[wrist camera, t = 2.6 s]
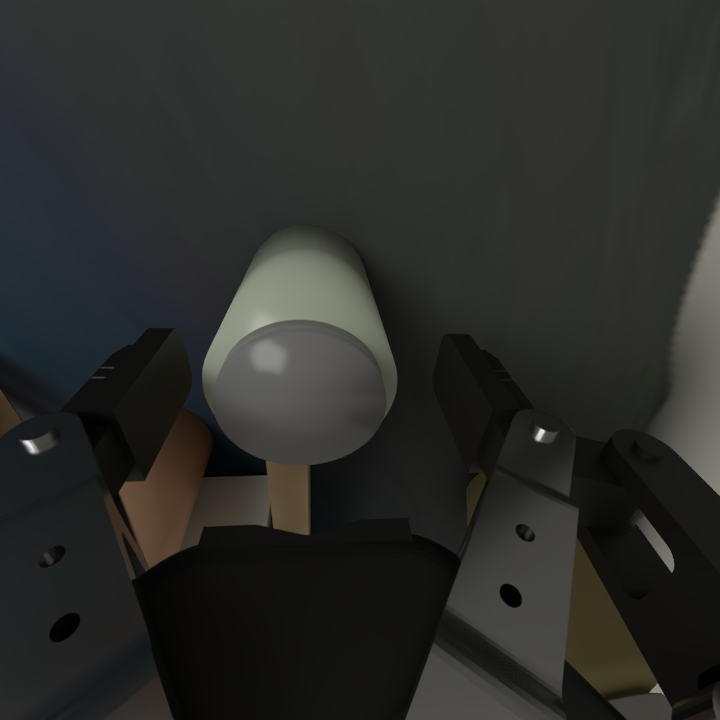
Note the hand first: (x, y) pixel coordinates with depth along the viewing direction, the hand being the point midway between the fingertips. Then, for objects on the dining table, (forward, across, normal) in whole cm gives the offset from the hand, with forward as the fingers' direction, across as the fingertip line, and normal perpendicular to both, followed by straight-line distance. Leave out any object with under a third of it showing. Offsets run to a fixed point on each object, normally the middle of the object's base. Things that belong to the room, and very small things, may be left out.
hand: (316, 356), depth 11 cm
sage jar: (+7, 0, 0) cm, 7 cm away
